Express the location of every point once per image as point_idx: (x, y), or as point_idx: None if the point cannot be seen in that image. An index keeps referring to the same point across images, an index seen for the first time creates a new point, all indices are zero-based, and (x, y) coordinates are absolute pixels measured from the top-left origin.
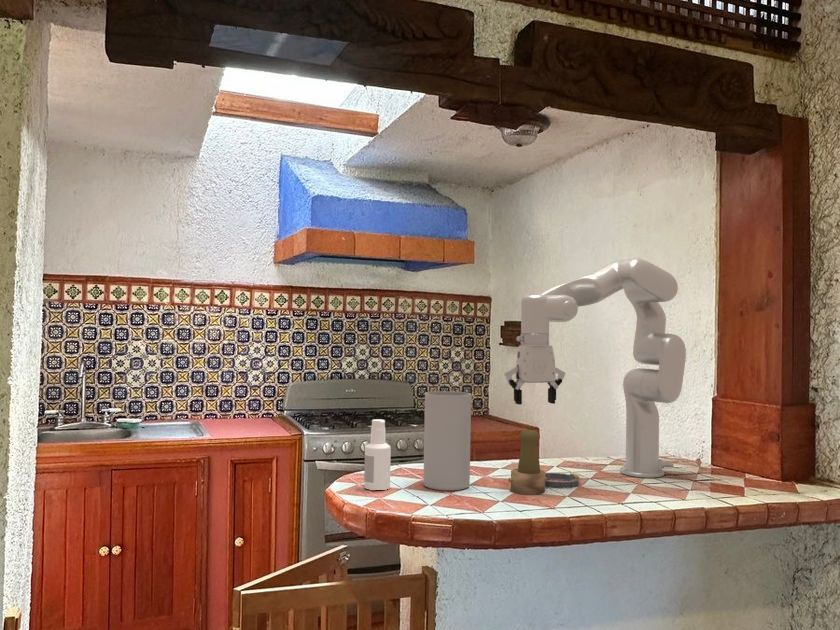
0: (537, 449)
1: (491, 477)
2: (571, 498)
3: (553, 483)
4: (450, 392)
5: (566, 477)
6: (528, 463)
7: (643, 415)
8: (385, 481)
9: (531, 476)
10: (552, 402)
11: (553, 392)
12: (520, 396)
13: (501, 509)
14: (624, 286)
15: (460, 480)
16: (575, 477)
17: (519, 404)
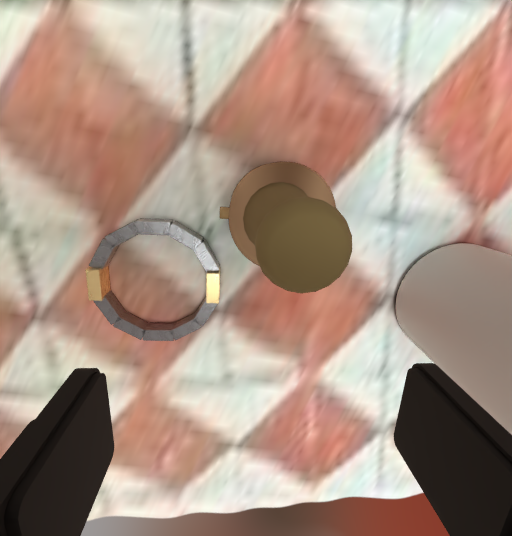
0: (266, 211)
1: (299, 362)
2: (192, 97)
3: (188, 231)
4: None
5: (115, 304)
6: (302, 193)
7: None
8: None
9: (297, 164)
10: (100, 376)
11: (29, 461)
12: (475, 412)
13: (446, 19)
14: None
15: (458, 250)
16: (99, 268)
17: (427, 365)
